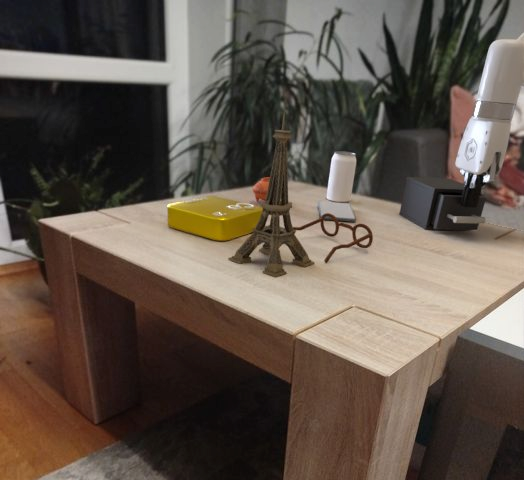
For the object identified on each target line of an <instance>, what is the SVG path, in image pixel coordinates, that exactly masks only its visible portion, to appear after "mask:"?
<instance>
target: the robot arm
mask: <svg viewBox="0 0 524 480" xmlns="http://www.w3.org/2000/svg"><path fill="white" fill-rule="evenodd" d="M487 50H488V51H487V53H486V58H485V62H484V66H483V70H482V75H481V78H480V83H479V87H478V90H477V95H476V99H475V102H474V107H473V110H472V114H471V117H470V118H469V120H468V122H467V125H466V127H465V129H464V132H463V135H462V138H461V141H460V144H459V147H458V151H457V155H456V159H455V163H454V164H455V167H456V168H457V169H458V170H459V174H461V175H462V176H463V182H462V183H463V185H464V190H463V194H462V198H461V201H460V205H461V206H463V207H473V208H475V207H477V204H478V201H479V197H480V196H481V193H482V190H483V189H484V188H485V186H486V184H488V183H489V184H490V183H494V182H495V178H496V176H497V175H499V174H500V172H501V170H502V168H503V164H504V161H505V159H506V155H507V150H508V146H509V141H510V135H511V129H512V121H513V117H514V114H515V109H516V107H517V104H518V100H519V97H520V92H521V89H522V87H524V32H522V33H521V34H520V35H519V37H517V38H516V39H515V38H514V39H513V38H501V39H496V40H494V41H492V42H491V44H490V45H489V47H488V49H487ZM465 186H466V187H465Z"/></svg>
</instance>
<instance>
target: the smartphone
mask: <svg viewBox="0 0 524 480" xmlns="http://www.w3.org/2000/svg"><path fill="white" fill-rule="evenodd" d="M317 206H318V207H317V208H318V211H319V213H318V215H319V219H320V218H321V217H322V216H323V215H324V214H326V213H330V214H332V215H334V216H335V217H336V218H337V220H338V222H341V221H342V222H352V223H354V222H356V221H357V218H356V215H355V212H354V210H353V207H352V204H351V203H349V202H346V203H340V202H333V201H325V200H319V201H318V202H317ZM324 220H329V221H334V220H333V219H332V218H331V217H328V216H326V217H325V218H324Z"/></svg>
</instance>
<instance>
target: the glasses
mask: <svg viewBox="0 0 524 480" xmlns="http://www.w3.org/2000/svg"><path fill="white" fill-rule="evenodd" d="M326 216H328V217H331V218H332V219H333V220H332V221H333V222H334V224H335V230H334V233H331V232H329V231H328V230H326V228H325V222H324V221H325V219H324V218H325V217H326ZM319 223H320V228H321V231H322V232H323V234H324V235H326V236H327V237H330V238H333V237H336V236H337V235H338V233H339V230H340V227H343V228H346V229H349V230H350V231H351V235H352V240H353V241H351V242H349V243H346V244H339V245H336V246H332V249H330V251H329V252H328V254H327V255H326V257H325V258H324V259H323V261H324V263H326V264H327V263H328V262H329V261H330V259H331V258H332V256H333V255H334V254H335V252H336V251H338V250H341V249H349V248H351V247H354V246H355V245H356V246H357V247H359V248H361V249H368V248H370V247H371V246H372V244H373V241H374V236H373V232H372V229H371V228H370V227H369V226H368V225H367V224H366V223H365V224H364V223H357V224H355V225H354V226H352V225H351V224H348V223H345V222H340V221H339V220H337V218H336V217H335V216H334V215H332V214H330V213H326V214H324V215H323V216H322V217H321V218H320V217H319V218H317V219H315V220H312V221H311V222H308V223H306V224H303V225H301V226H299V227H298V226H293V229H294V230H296V231H303V230H305V229H308V228H309V227H312V226H314V225H316V224H319ZM358 228H363V229H364V230H366V231H367V234H365V235H363V236H361V237H359V238H357V236H356V235H357V233H356V232H357V229H358ZM365 240H368V242H367V243H366V244H362V242H364V241H365Z"/></svg>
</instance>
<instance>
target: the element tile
mask: <svg viewBox="0 0 524 480" xmlns="http://www.w3.org/2000/svg"><path fill="white" fill-rule="evenodd" d="M166 207H167V210H166V211H167V227H168V228H170V229H174V230H176V231H180V232H184V233H188V234H190V235H193V236H194V235H195V236H198V237H202V238H205V239H207V240H208V239H209V240H213V241H216V242H226V241H230V240H233V239H236V238H240V237H242V236H245V235H249V234H253V232H254V231H253V229H252V228H255V227H256V225H257V224H258V222H259V219H260V216H261V213H262V211H263V208H262V207H261V206H260V205H255V204H251V203H247V202H242V201H237V200H234V199H230V198H225V197H221V196H217V195H207V196H206V195H205V196H202V197H197V198H192V199H188V200H182V201H177V202H173V203H169V204H167V206H166Z"/></svg>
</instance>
